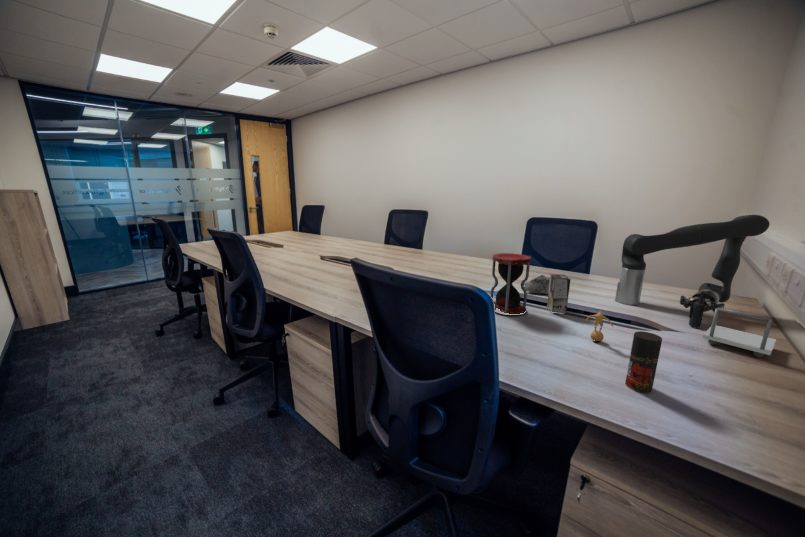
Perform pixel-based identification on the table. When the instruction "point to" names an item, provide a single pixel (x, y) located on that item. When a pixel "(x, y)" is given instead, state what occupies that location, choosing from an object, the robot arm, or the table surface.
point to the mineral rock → (538, 285)
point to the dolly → (741, 335)
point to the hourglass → (510, 282)
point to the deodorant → (643, 361)
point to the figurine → (596, 334)
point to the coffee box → (558, 293)
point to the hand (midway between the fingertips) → (695, 307)
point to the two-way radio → (696, 312)
